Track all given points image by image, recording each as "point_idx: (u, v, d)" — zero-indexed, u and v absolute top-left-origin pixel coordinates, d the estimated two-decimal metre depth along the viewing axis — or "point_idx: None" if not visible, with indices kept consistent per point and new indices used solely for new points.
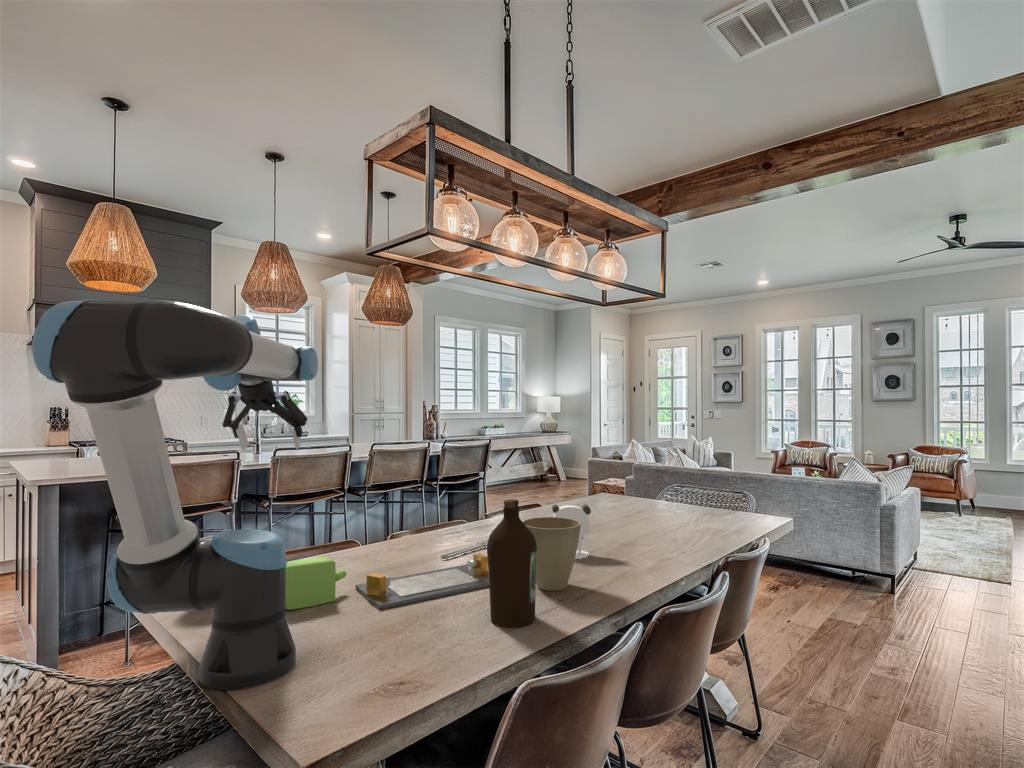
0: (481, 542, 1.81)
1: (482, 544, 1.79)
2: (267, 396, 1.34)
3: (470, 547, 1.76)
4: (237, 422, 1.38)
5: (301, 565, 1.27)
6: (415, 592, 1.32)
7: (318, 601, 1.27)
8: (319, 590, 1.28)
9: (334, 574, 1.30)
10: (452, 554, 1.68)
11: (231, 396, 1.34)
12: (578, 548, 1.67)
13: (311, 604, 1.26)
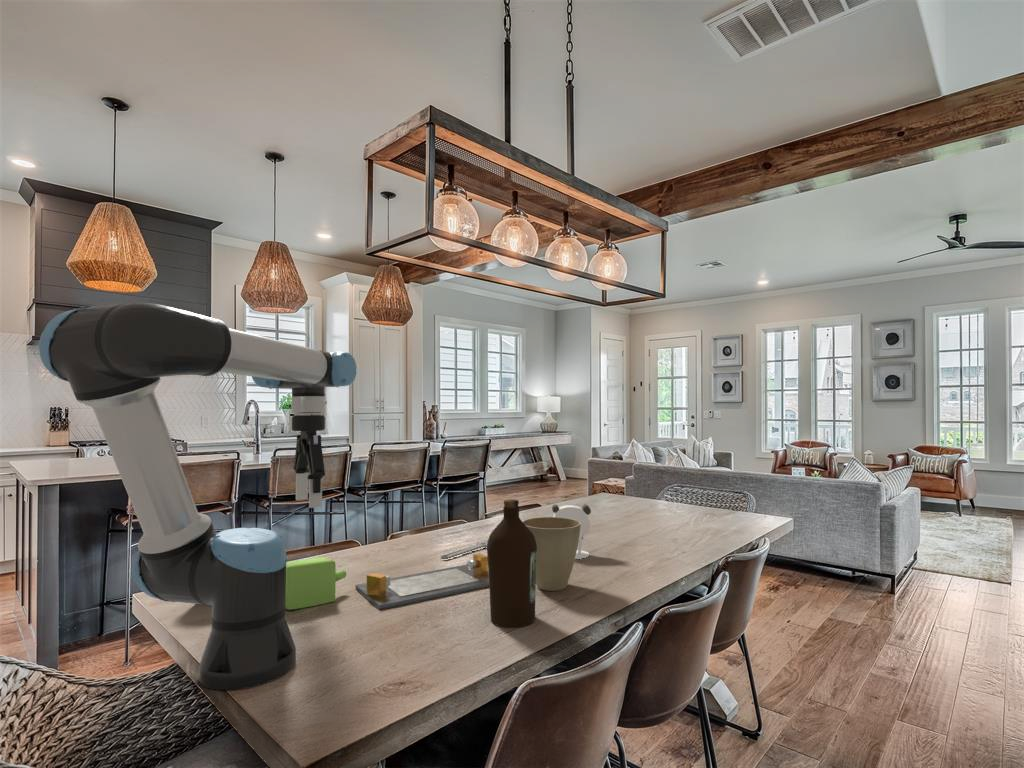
0: (481, 542, 1.81)
1: (482, 544, 1.79)
2: (306, 435, 1.30)
3: (470, 547, 1.75)
4: (297, 464, 1.37)
5: (301, 565, 1.27)
6: (415, 592, 1.32)
7: (318, 601, 1.27)
8: (319, 590, 1.27)
9: (334, 574, 1.30)
10: (452, 554, 1.68)
11: (299, 434, 1.37)
12: (578, 548, 1.67)
13: (311, 604, 1.26)
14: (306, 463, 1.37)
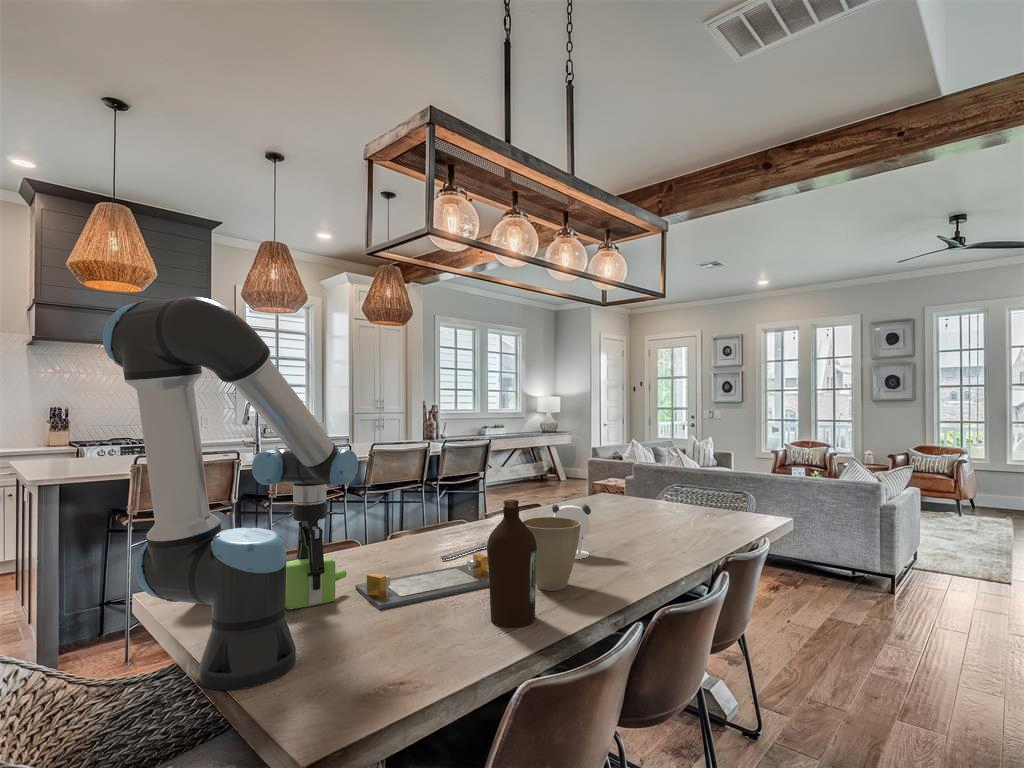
0: (481, 543, 1.80)
1: (482, 545, 1.78)
2: (307, 524, 1.29)
3: (470, 548, 1.75)
4: (300, 554, 1.35)
5: (301, 565, 1.27)
6: (415, 592, 1.32)
7: None
8: None
9: (334, 574, 1.30)
10: (452, 555, 1.67)
11: (300, 521, 1.36)
12: (578, 548, 1.67)
13: (311, 604, 1.26)
14: None
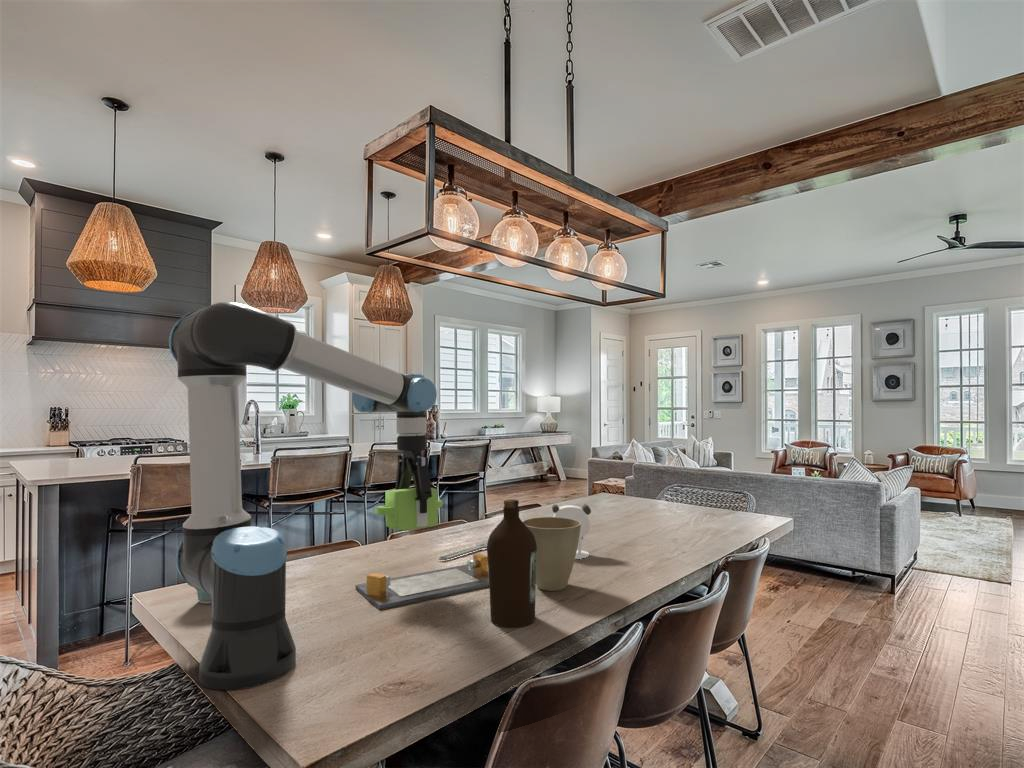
0: (481, 543, 1.80)
1: (482, 545, 1.77)
2: (412, 454, 1.38)
3: (469, 548, 1.74)
4: (400, 484, 1.44)
5: (408, 490, 1.35)
6: (415, 592, 1.32)
7: None
8: None
9: (436, 500, 1.39)
10: (451, 556, 1.67)
11: None
12: (578, 548, 1.67)
13: None
14: (408, 483, 1.44)
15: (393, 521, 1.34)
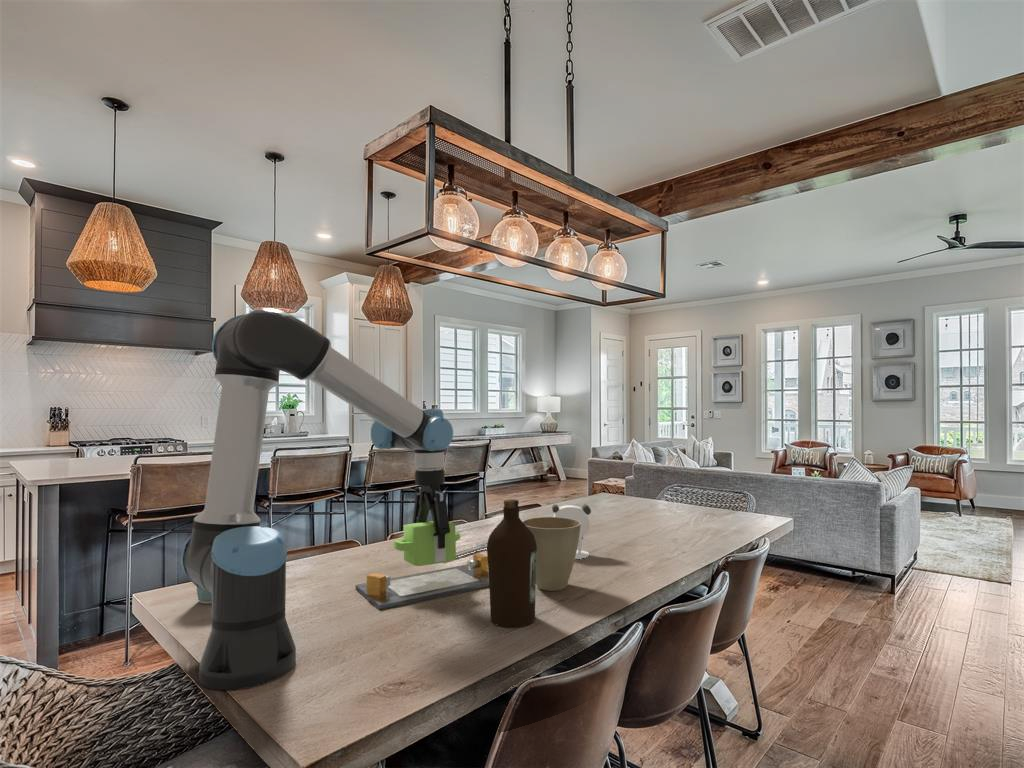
0: (481, 544, 1.79)
1: (482, 546, 1.77)
2: (430, 489, 1.38)
3: (469, 549, 1.73)
4: (418, 518, 1.45)
5: (426, 525, 1.36)
6: (415, 592, 1.32)
7: None
8: None
9: (454, 535, 1.39)
10: None
11: None
12: (578, 548, 1.67)
13: (436, 562, 1.36)
14: (426, 516, 1.45)
15: (411, 556, 1.35)
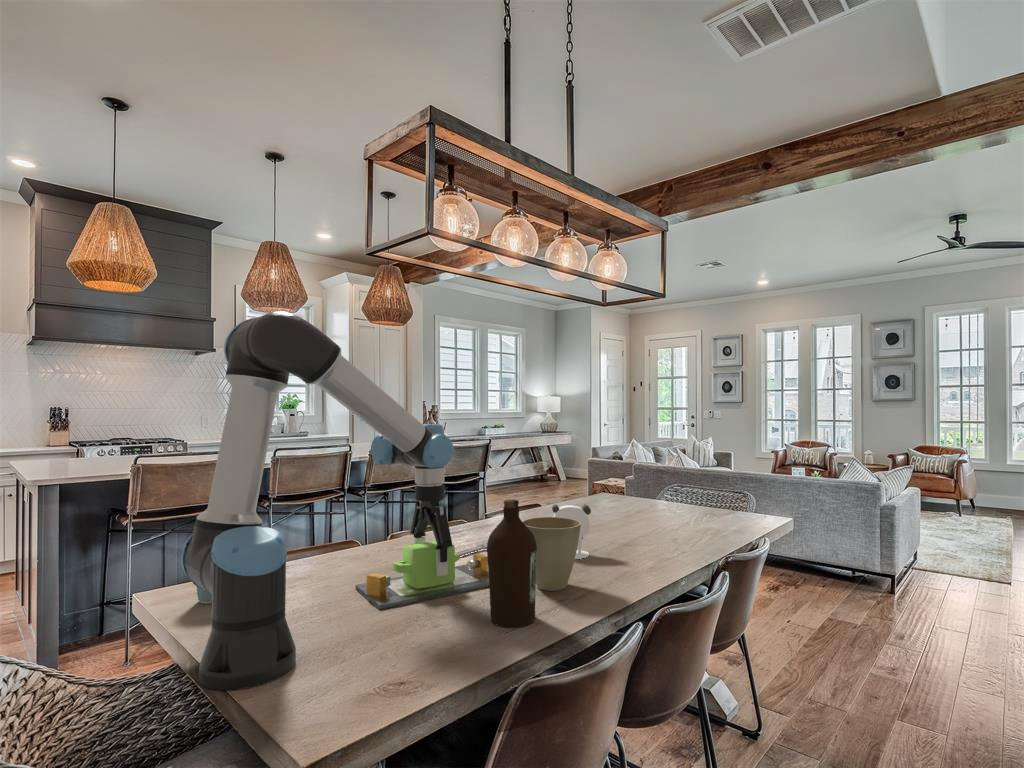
0: (481, 544, 1.79)
1: (481, 546, 1.76)
2: (430, 505, 1.38)
3: (469, 549, 1.73)
4: (416, 529, 1.45)
5: (425, 547, 1.36)
6: (415, 592, 1.32)
7: (441, 581, 1.37)
8: None
9: (453, 556, 1.39)
10: None
11: (417, 501, 1.46)
12: (578, 548, 1.67)
13: (435, 584, 1.36)
14: (424, 528, 1.46)
15: (411, 578, 1.35)
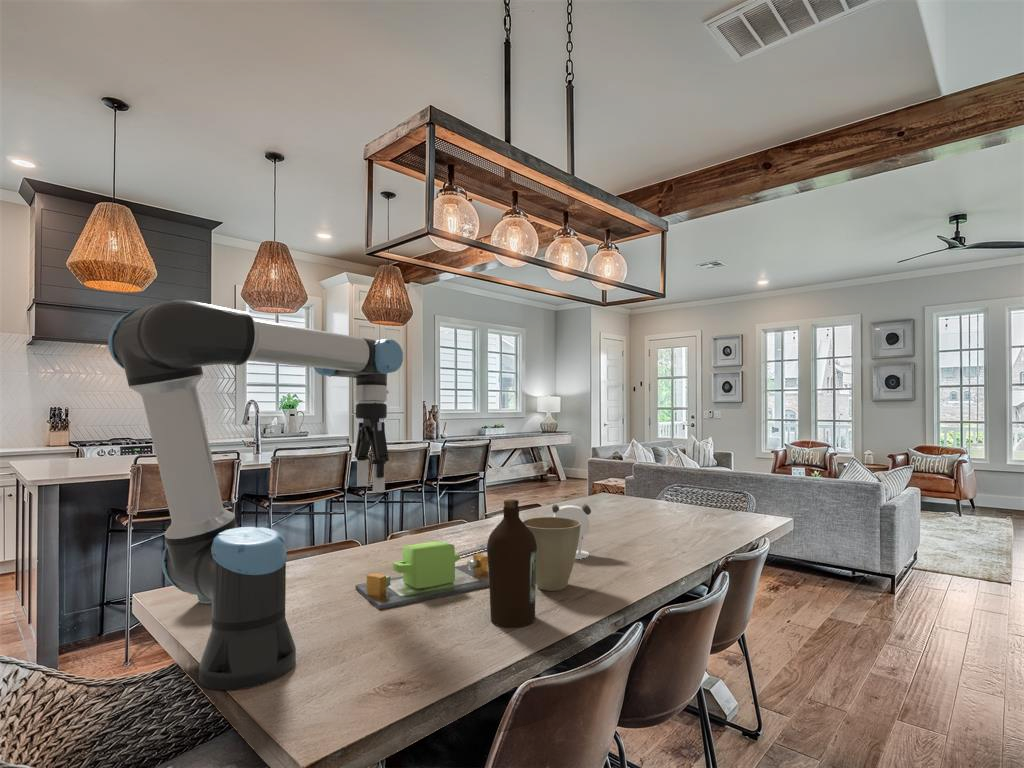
0: (480, 545, 1.78)
1: (481, 547, 1.75)
2: (369, 422, 1.35)
3: (469, 550, 1.72)
4: (359, 451, 1.42)
5: (425, 547, 1.36)
6: (415, 592, 1.32)
7: (441, 581, 1.37)
8: (441, 571, 1.37)
9: (453, 556, 1.39)
10: None
11: (361, 422, 1.42)
12: (578, 548, 1.67)
13: (435, 584, 1.36)
14: (367, 450, 1.42)
15: (411, 578, 1.35)
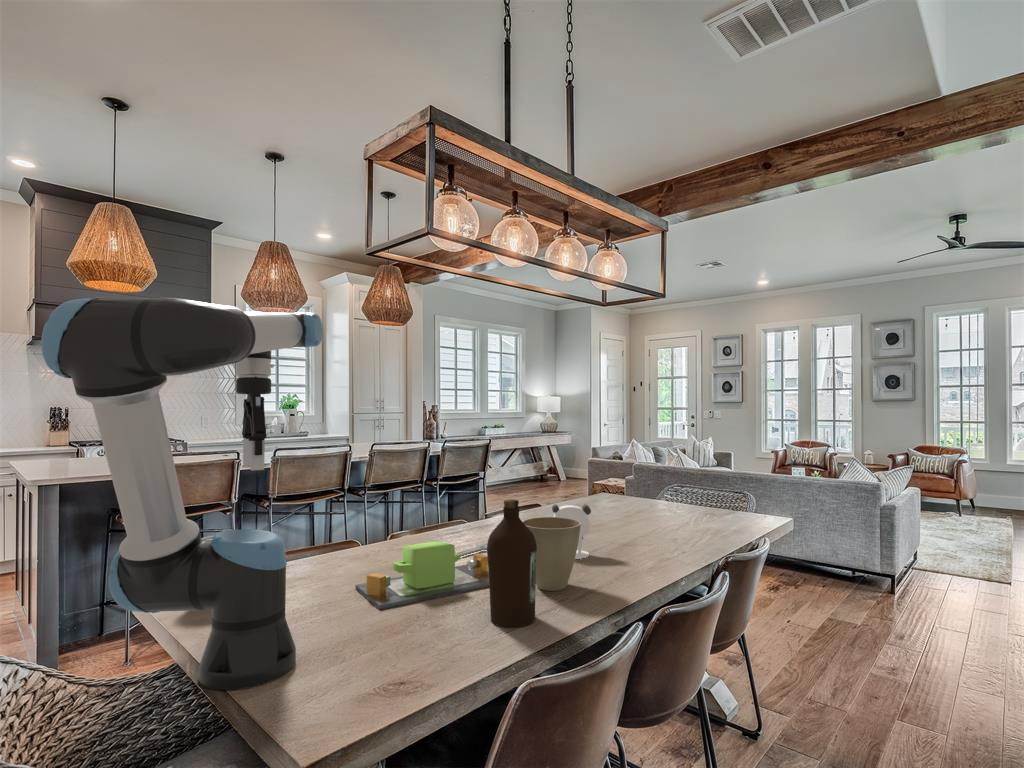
0: (480, 545, 1.77)
1: (481, 547, 1.75)
2: (250, 397, 1.27)
3: (468, 550, 1.72)
4: (244, 429, 1.34)
5: (425, 547, 1.36)
6: (415, 592, 1.32)
7: (441, 581, 1.37)
8: (441, 571, 1.37)
9: (453, 556, 1.39)
10: None
11: (246, 398, 1.35)
12: (578, 548, 1.67)
13: (435, 584, 1.36)
14: None
15: (411, 578, 1.35)
